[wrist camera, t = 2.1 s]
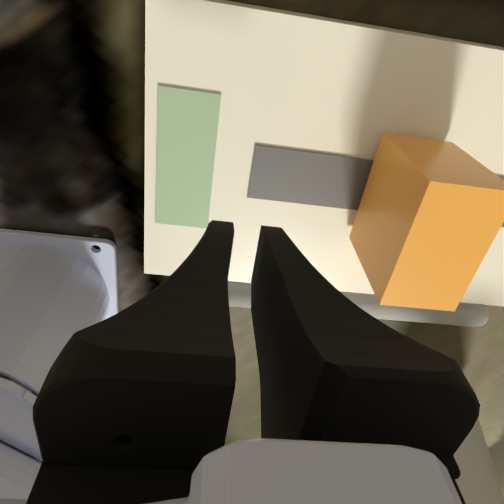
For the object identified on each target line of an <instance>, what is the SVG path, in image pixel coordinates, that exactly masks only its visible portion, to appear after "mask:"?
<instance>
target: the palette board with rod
mask: <svg viewBox="0 0 504 504" xmlns="http://www.w3.org/2000/svg"><path fill="white" fill-rule="evenodd" d="M340 292H341V293H342V294H343V295H345V296H346V297H347V298H348V299H349V300H351V301H352V302H353V303H354V304H356V305H357V306H358V307H360V308H361V309H363V310H364V311H365V312H367V313H368V314H370V315H371V316H373V317H374V318H376V319H386V320H398V321H410V322H422V323H433V324H445V325H457V326H469V327H479V326H482V325H484V324H485V323H486V322H487V320H488V318H489V312H488V309H487V308H486V307H485V306H484V305H483V304H473V303H462V302H460V303H459V305H458V306H457V308H456V310H455V312H454V311H443V310H432V309H420V308H409V307H398V306H387V305H379V303H378V301H377V298H376V296H375V294H364V293H353V292H343V291H340ZM228 298H229V306H233V307H245V308H251V283H245V282H234V281H228Z"/></svg>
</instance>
